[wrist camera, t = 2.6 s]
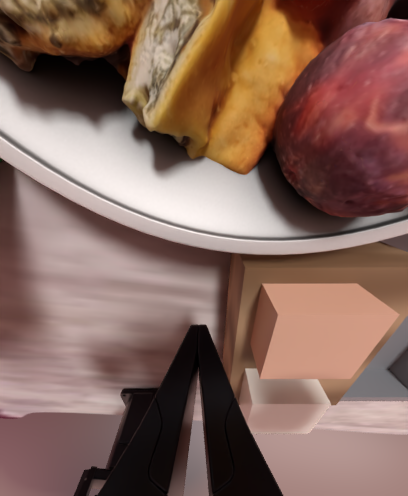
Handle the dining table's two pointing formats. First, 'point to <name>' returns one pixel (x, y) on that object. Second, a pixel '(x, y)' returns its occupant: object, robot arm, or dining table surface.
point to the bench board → (309, 272)
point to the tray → (386, 361)
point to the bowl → (215, 116)
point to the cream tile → (281, 404)
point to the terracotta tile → (316, 330)
